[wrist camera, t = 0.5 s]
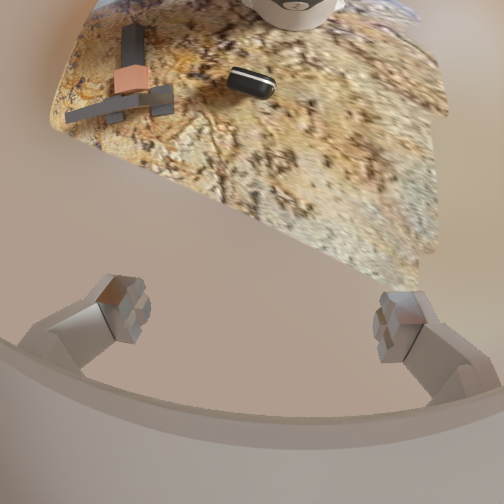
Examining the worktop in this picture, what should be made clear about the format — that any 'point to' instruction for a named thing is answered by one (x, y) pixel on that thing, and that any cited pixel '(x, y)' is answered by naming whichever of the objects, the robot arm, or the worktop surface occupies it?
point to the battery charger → (251, 83)
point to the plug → (132, 61)
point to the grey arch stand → (127, 105)
